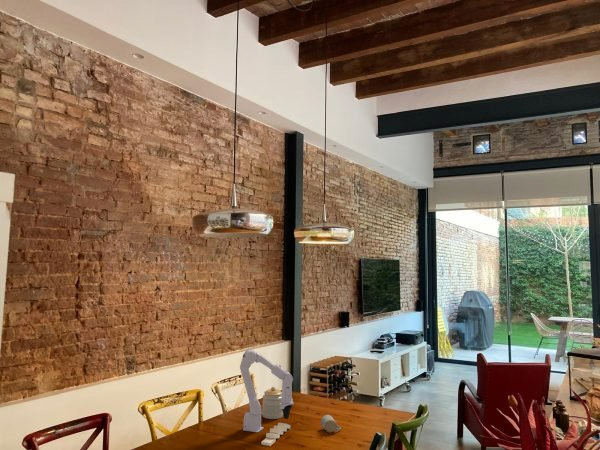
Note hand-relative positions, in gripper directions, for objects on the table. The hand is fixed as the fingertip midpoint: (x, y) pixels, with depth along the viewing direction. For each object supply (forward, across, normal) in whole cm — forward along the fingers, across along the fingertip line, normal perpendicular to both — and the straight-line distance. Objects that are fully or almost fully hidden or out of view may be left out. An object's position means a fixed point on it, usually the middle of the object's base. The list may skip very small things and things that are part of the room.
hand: (286, 418), depth 264 cm
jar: (+5, +16, +16) cm, 23 cm away
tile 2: (+4, -5, 0) cm, 7 cm away
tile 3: (+4, -10, 0) cm, 11 cm away
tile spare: (+5, -21, 0) cm, 22 cm away
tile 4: (+4, -16, 0) cm, 16 cm away
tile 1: (+4, 0, 0) cm, 4 cm away
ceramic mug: (+6, +6, -25) cm, 26 cm away
